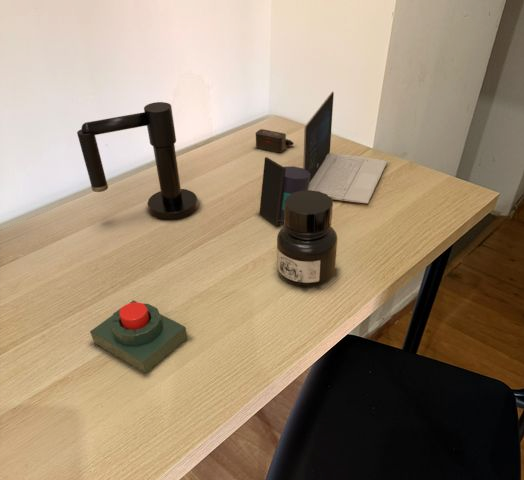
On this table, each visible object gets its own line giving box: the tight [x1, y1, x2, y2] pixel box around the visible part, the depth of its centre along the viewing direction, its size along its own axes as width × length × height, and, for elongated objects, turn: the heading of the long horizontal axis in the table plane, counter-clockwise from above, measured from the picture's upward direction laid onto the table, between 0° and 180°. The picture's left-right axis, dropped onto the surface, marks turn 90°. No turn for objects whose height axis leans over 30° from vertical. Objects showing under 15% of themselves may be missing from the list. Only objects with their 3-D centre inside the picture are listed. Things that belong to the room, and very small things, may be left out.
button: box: [119, 301, 149, 330], centre depth 69 cm, size 4×4×2 cm
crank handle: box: [76, 101, 177, 193], centre depth 88 cm, size 16×4×11 cm, turn 113°
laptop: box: [302, 90, 388, 204], centre depth 99 cm, size 18×12×13 cm
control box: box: [89, 299, 188, 374], centre depth 71 cm, size 10×8×4 cm
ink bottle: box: [276, 190, 338, 288], centre depth 79 cm, size 10×9×12 cm
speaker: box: [258, 156, 311, 228], centre depth 91 cm, size 8×6×10 cm
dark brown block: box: [255, 128, 294, 153], centre depth 114 cm, size 5×7×3 cm, turn 61°
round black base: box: [147, 144, 199, 221], centre depth 94 cm, size 9×9×12 cm
